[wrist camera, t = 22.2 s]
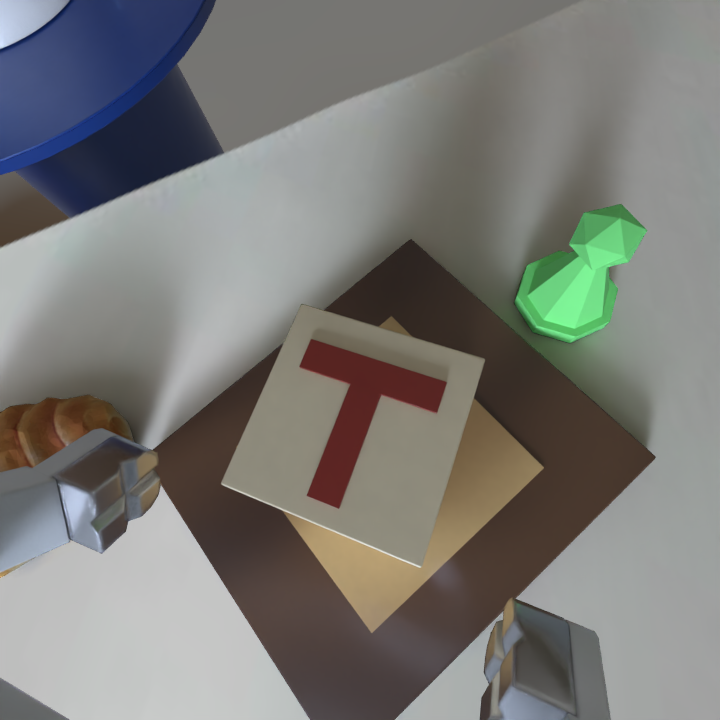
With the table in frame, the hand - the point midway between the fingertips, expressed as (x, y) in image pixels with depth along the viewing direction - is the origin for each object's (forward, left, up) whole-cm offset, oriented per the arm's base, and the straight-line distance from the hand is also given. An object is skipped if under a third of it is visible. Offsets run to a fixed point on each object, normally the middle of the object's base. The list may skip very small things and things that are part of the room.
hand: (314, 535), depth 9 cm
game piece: (-1, +13, -9) cm, 17 cm away
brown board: (-1, +2, -9) cm, 10 cm away
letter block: (-1, +2, -8) cm, 9 cm away
